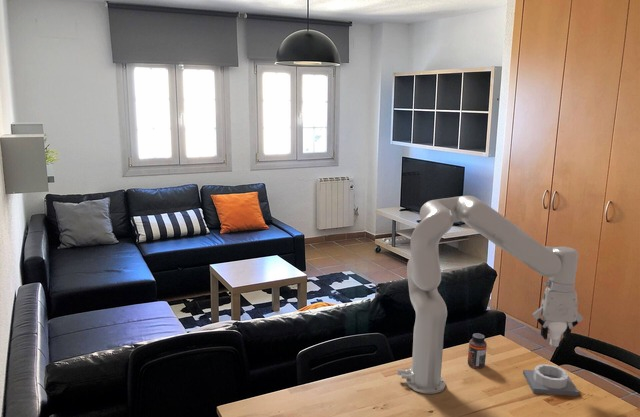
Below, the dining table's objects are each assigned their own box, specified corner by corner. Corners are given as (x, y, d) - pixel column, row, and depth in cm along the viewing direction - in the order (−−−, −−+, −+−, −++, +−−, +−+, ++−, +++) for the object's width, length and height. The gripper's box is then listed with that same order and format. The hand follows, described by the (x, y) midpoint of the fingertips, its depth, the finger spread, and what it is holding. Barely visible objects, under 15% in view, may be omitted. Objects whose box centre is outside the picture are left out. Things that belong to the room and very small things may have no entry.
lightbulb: (566, 352, 167) (570, 319, 164) (545, 350, 168) (549, 318, 166) (562, 343, 173) (565, 311, 171) (541, 341, 174) (544, 310, 172)
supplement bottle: (464, 362, 187) (466, 332, 185) (478, 359, 189) (480, 330, 186) (473, 370, 182) (476, 340, 179) (488, 368, 183) (491, 338, 181)
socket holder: (533, 392, 168) (534, 380, 167) (522, 373, 180) (524, 361, 179) (578, 395, 167) (580, 383, 166) (565, 376, 178) (566, 364, 177)
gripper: (536, 288, 163) (530, 341, 167) (594, 291, 161) (587, 345, 165) (529, 280, 170) (524, 331, 174) (584, 283, 169) (578, 334, 173)
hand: (555, 337), depth 170 cm, fingers closed on lightbulb, 6 cm apart
